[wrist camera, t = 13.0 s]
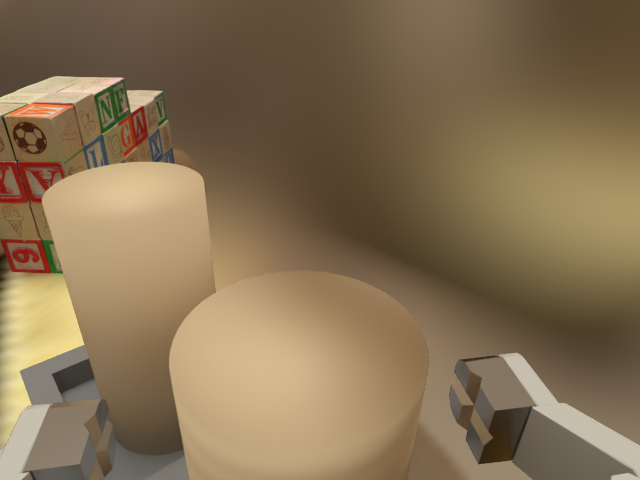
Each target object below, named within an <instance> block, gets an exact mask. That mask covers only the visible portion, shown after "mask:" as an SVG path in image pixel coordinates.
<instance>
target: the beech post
mask: <svg viewBox="0 0 640 480" xmlns="http://www.w3.org/2000/svg"><path fill="white" fill-rule="evenodd" d="M428 367H429V356H428V348H427V344H426V340H425V338H424V335H423V333H422V331H421V329H420V327H419V326H418V324H417V322H416V321H415V319H414V318H413V317H412V316H411V315H410V313H409V312H408V311H407V310H406V309H405V308H404V307H403V306H402V305H401V304H399V303H398V302H397V301H396V300H394V299H393V298H392V297H390V296H389V295H388V294H386V293H384V292H382V291H381V290H379V289H377V288H375V287H373V286H371V285H369V284H366V283H364V282H361V281H358V280H356V279H353V278H350V277H346V276H342V275H338V274H332V273H326V272H318V271H282V272H273V273H268V274H263V275H258V276H255V277H251V278H247V279H244V280H241V281H239V282H236V283H233V284H231V285H229V286H227V287H225V288H223V289H221V290H219V291H217V292H216V293H214V294H212V295H211V296H209V297H208V298H206V299H205V300H204V301H202V302H201V303H200V304H199V305H198V306H197V307H195V308H194V309H193V310H192V311H191V312H190V314H189V315H188V316H187V317H186V318H185V319H184V321H183V322H182V324H181V325H180V327H179V329H178V330H177V332H176V335H175V337H174V339H173V342H172V346H171V350H170V356H169V369H170V376H171V382H172V388H173V393H174V399H175V404H176V409H177V415H178V420H179V426H180V431H181V437H182V442H183V447H184V453H185V458H186V464H187V469H188V475H189V480H407V477H408V472H409V467H410V462H411V457H412V451H413V446H414V441H415V436H416V431H417V426H418V421H419V416H420V411H421V406H422V400H423V395H424V390H425V385H426V380H427V375H428Z"/></svg>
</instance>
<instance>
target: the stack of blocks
mask: <svg viewBox="0 0 640 480" xmlns="http://www.w3.org/2000/svg"><path fill="white" fill-rule="evenodd" d="M128 162H164V163H171V164H174V157H173V150H172V142H171V134H170V128H169V121H168V120H167V115H166V108H165V100H164V94H163V91H141V90H135V91H129V90H128V91H127V90H126V85H125V79H124V78H94V77H92V78H91V77H59V76H57V77H56V76H54V77H52V78H49V79H46V80H44V81H41V82H38V83H36V84H33V85H30V86H27V87H25V88H22V89H19V90H17V91H16V92H14V93H11V94H8V95H5V96H3V97H0V237H1V238H0V240H1V243H2V246H3V248H4V251H5V253H6V256H7V259H8V262H9V265H10V267H11V270H12V271H13V272H33V273H63V271H62V268H61V265H60V261H59V258H58V255H57V251H56V248H55V245H54V241H53V238H52V235H51V231H50V228H49V225H48V221H47V218H46V215H45V212H44V208H43V205H42V198H43V195H44V194H45V192H46V191H47V190H48V189H49V188H50V187H51V186H53V185H54V184H55V183H57V182H59V181H60V180H62V179H64V178H66V177H68V176H71V175H73V174H76V173H79V172H82V171H85V170H89V169H92V168H96V167H101V166H106V165H112V164H119V163H128Z"/></svg>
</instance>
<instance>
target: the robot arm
mask: <svg viewBox="0 0 640 480" xmlns="http://www.w3.org/2000/svg"><path fill="white" fill-rule="evenodd" d="M454 372H455V374H456V376H457V377H458V378H457V379H456V380H455V381H454V382H453V383H452V384H451V388H450V393H449V397H450V406H451V409H452V412H453V415H454V417H455V419H456V421H457V423H458V424H459V425H460V426H462V427H463V428H465V429H466V430H467V436H466V441H467V443H468V445H469V447H470V449H471V451H472V453H473V455H474V457H475V459H476V460H477V462H478V464H485V463H493V462H502V461H510V460H513V463H514V464H515V465H516V466H517V467H519V468H520V469H521V470H522V471H523V472H525V473H526V474H527V475H528V476H529V477H531V478H532V479H533V480H640V446H639V445H637V444H636V443H634V442H632V441H630V440H628V439H627V438H625V437H623V436H622V435H620V434H618V433H616V432H615V431H613V430H611V429H609V428H607V427H606V426H604V425H602V424H601V423H599V422H597V421H595V420H593V419H592V418H590V417H588V416H587V415H584V414H583V413H581V412H580V411H578V410H576V409H574V408H573V407H571V406H569V405H567V404H566V403H560V404H559V403H558V402H557V401H556V399H555V398H554V397H553V395H552V394H551V393H550V392H549V390H548V389H547V388H546V386H545V385H544V384H543V382H542V381H541V380H540V379H539V377H538V376H537V375H536V374H535V372H534V371H533V369H532V368H531V367H530V366H529V364H528V363H527V362H526V361H525V359H524V358H523V357H522V356H521V355H520V354H518V353H511V354H503V355H497V356H496V355H494V356H486V357H477V358H468V359H460V360H459V361H458V362H457V363H456V366H455V370H454ZM108 412H109V408H108V405H107V403H106V400H104V399H95V400H83V401H72V402H60V403H52V404H41V405H29V406H27V407H26V408H25V409H24V410H23V411H22V413H21V415H20V417H19V419H18V421H17V423H16V425H15V427H14V429H13V431H12V433H11V435H10V438H9V440H8V442H7V444H6V446H5V448H4V450H3V452H2V454H1V456H0V480H105V477H106V476H107V474H108V473H109V472H110V471H111V470H112V469H113V465H114V460H115V454H116V434H115V429H114V425H113V424H112V423H111V422H109V421H108V420H107V416H108Z"/></svg>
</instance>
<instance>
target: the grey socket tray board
mask: <svg viewBox="0 0 640 480" xmlns="http://www.w3.org/2000/svg"><path fill="white" fill-rule="evenodd" d="M42 205H43V208H44V212H45V215H46V218H47V221H48V225H49V228H50V231H51V235H52V238H53V241H54V245H55V248H56V251H57V255H58V258H59V261H60V265H61V268H62V271H63V274H64V278H65V281H66V284H67V288H68V291H69V294H70V298H71V301H72V304H73V308H74V311H75V314H76V318H77V321H78V324H79V328H80V331H81V334H82V337H83V341H84V344H85V345H83V346H80V347H78V348H75V349H73V350H70V351H68V352H66V353H63V354H61V355H58V356H56V357H53V358H51V359H48V360H46V361H43V362H41V363H38V364H36V365H33V366H31V367H28V368H26V369H23V370H21V371H20V373H21V376H22V379H23V381H24V384H25V387H26V390H27V393H28V395H29V398H30V401H31V404H32V405H41V404H52V403H60V402H72V401H83V400H95V399H104V400H106V403H107V405H108V408H109V412H108V416H107V420H108V421H109V422H111V423H112V424H113V425H114V429H115V434H116V454H115V460H114V465H113V469H112V470H111V471H110V472H109V473H108V474H107V476H106V477H105V480H189V475H188V469H187V464H186V458H185V453H184V447H183V442H182V437H181V431H180V426H179V420H178V415H177V409H176V404H175V399H174V393H173V388H172V382H171V376H170V369H169V356H170V350H171V346H172V342H173V339H174V337H175V335H176V332H177V330H178V329H179V327H180V325H181V324H182V322H183V321H184V319H185V318H186V317H187V316H188V315H189V314H190V312H191V311H192V310H193V309H194V308H195V307H197V306H198V305H199V304H200V303H201V302H202V301H204V300H205V299H206V298H208V297H209V296H211V295H212V294H214V293H216V290H215V281H214V271H213V262H212V253H211V244H210V234H209V225H208V217H207V206H206V197H205V188H204V180H203V178H202V177H201V175H200V174H199V173H197V172H196V171H194V170H192V169H190V168H187V167H185V166H181V165H177V164H171V163H164V162H128V163H119V164H112V165H106V166H101V167H96V168H92V169H89V170H85V171H82V172H79V173H76V174H73V175H71V176H68V177H66V178H64V179H62V180H60V181H59V182H57V183H55V184H54V185H53V186H51V187H50V188H49V189H48V190H47V191H46V192H45V194H44V195H43V198H42ZM3 450H4V449H1V450H0V456H1V454H2V452H3Z"/></svg>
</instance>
